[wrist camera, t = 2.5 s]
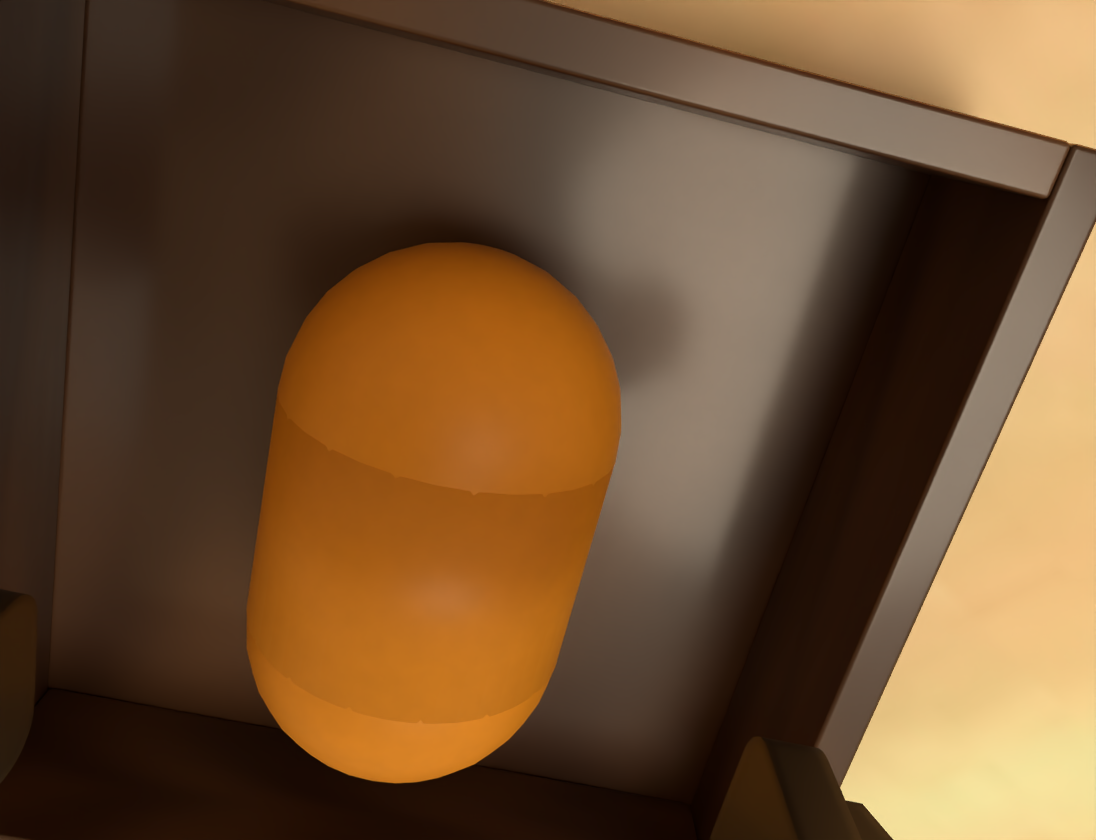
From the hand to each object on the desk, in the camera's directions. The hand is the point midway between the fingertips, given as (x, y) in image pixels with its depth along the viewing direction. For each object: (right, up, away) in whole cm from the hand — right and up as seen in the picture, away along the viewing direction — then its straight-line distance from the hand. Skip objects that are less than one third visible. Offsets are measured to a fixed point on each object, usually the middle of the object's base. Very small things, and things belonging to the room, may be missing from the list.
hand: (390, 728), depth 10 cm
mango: (0, +3, +8) cm, 8 cm away
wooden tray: (0, +3, +8) cm, 9 cm away
